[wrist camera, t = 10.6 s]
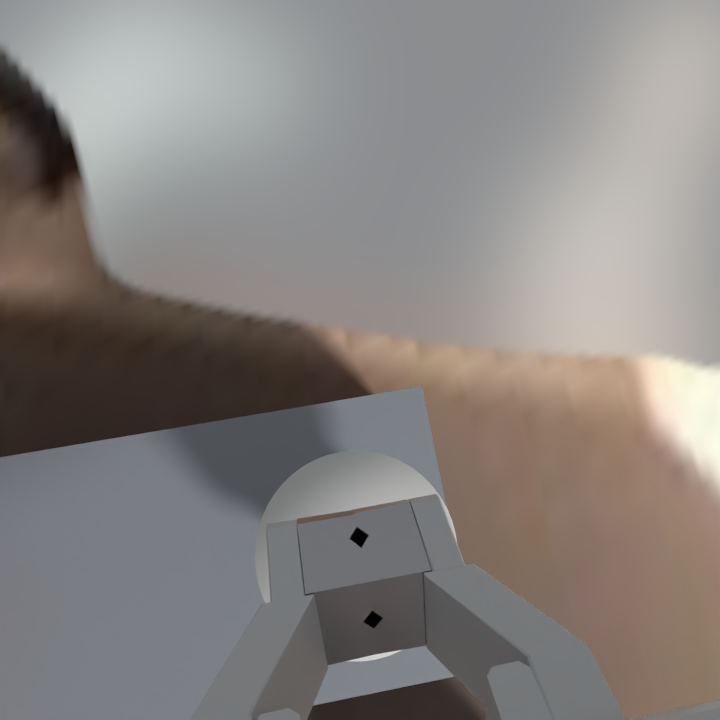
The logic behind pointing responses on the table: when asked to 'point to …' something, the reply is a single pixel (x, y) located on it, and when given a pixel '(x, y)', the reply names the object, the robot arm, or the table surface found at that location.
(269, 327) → the table surface
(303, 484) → the grey bulb-shaped piece
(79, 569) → the block
